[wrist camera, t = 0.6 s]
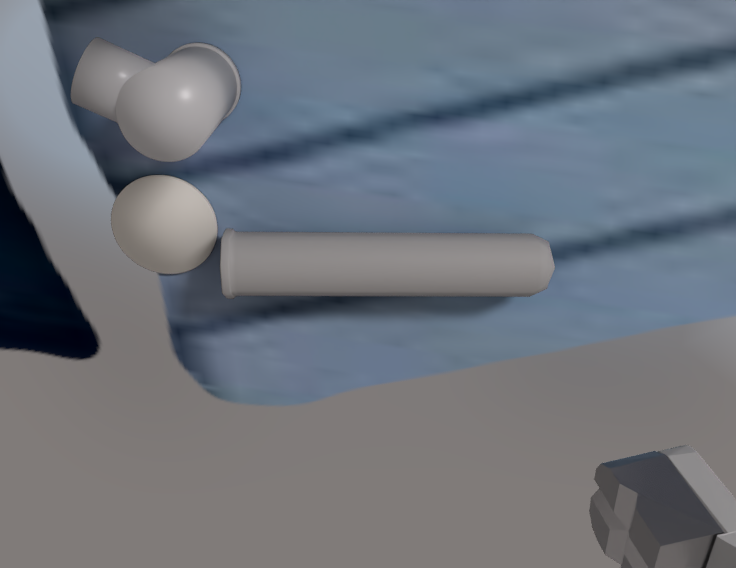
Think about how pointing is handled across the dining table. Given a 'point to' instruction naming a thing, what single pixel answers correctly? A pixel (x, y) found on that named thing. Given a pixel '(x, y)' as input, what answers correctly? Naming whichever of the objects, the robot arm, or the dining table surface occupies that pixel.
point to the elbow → (159, 95)
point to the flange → (164, 224)
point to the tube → (383, 264)
